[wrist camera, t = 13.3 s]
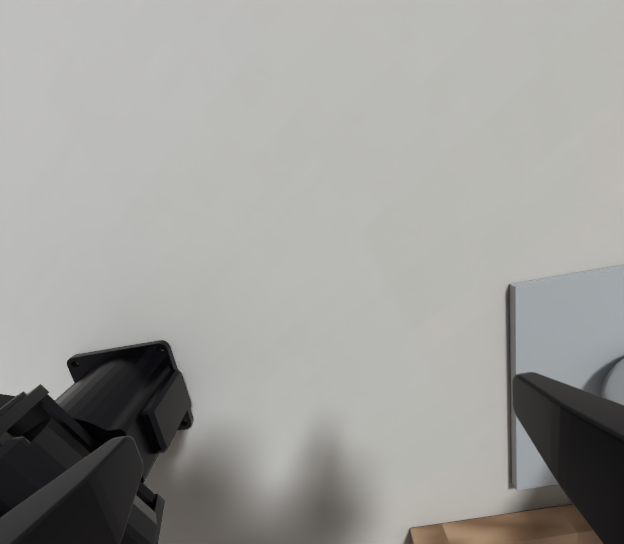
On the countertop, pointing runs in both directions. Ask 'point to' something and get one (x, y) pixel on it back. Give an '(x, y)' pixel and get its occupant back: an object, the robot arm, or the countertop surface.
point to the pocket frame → (513, 529)
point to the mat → (563, 345)
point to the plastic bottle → (614, 384)
